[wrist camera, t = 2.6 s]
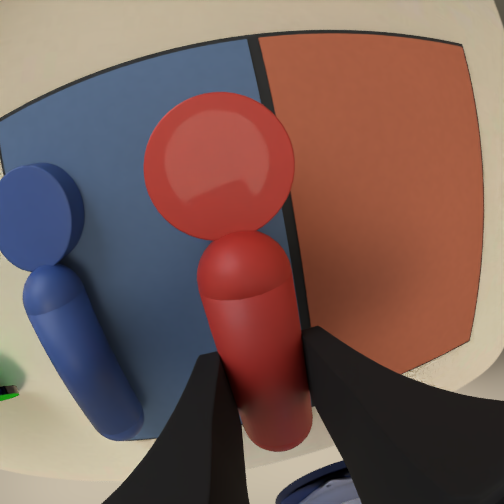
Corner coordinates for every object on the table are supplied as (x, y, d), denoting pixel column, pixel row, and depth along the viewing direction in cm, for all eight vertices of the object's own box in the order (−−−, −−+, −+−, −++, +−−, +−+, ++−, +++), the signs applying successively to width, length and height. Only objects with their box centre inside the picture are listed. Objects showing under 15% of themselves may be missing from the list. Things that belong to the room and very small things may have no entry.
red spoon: (139, 117, 7) (115, 105, 5) (270, 89, 8) (293, 67, 5) (232, 426, 11) (239, 473, 9) (319, 404, 11) (338, 447, 9)
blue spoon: (-3, 181, 9) (-41, 191, 6) (71, 148, 9) (37, 149, 7) (100, 416, 12) (90, 452, 10) (167, 409, 13) (164, 449, 10)
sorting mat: (465, 337, 15) (470, 341, 14) (126, 435, 14) (124, 442, 13) (456, 45, 10) (463, 43, 9) (-1, 121, 8) (-8, 120, 8)
